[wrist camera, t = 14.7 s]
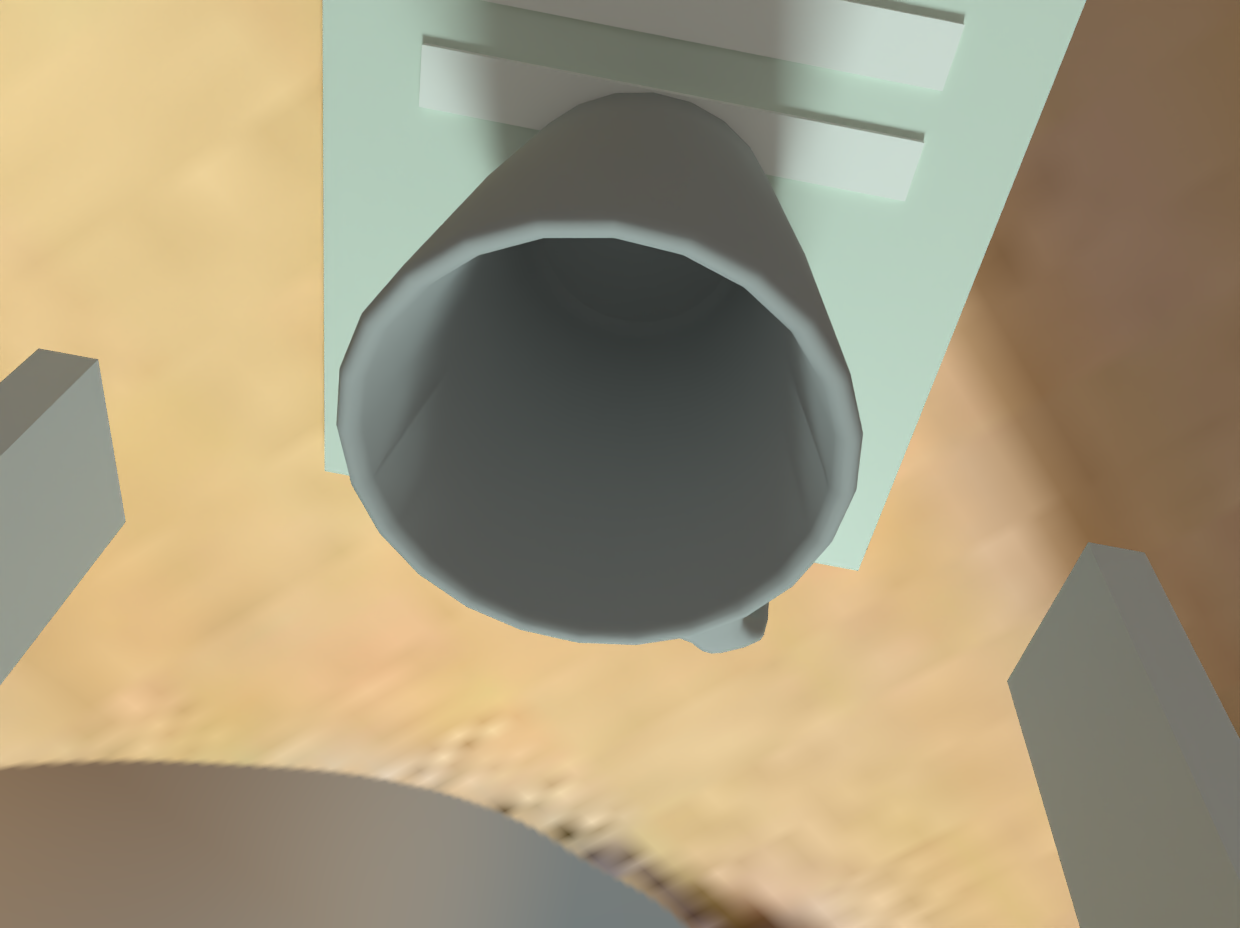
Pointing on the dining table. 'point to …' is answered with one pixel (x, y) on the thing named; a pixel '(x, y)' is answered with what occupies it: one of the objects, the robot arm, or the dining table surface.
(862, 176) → the pad green
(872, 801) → the dining table surface
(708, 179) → the cup
